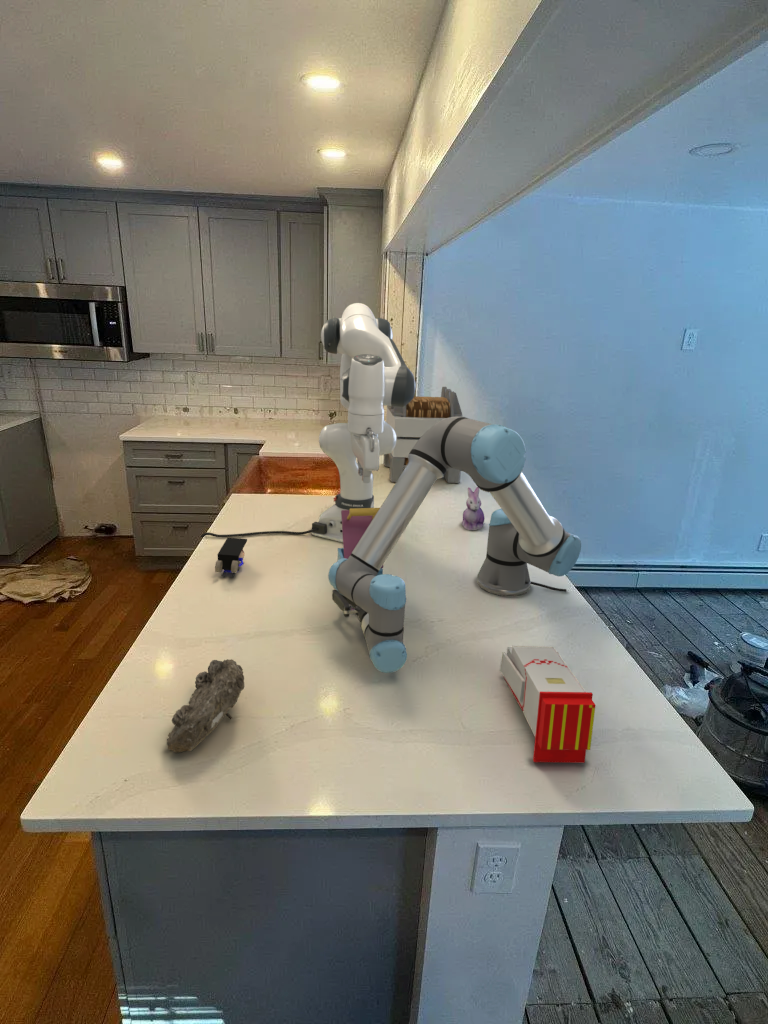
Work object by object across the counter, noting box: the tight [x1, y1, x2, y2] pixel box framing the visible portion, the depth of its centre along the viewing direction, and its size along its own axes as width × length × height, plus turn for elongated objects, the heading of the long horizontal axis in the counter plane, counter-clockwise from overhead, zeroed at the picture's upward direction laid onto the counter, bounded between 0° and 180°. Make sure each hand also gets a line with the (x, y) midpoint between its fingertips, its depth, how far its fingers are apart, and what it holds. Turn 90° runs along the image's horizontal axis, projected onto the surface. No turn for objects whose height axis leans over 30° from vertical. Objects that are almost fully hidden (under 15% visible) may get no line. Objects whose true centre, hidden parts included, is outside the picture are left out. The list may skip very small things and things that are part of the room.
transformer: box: [383, 386, 463, 484], centre depth 268 cm, size 34×33×41 cm
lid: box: [341, 507, 384, 569], centre depth 145 cm, size 16×10×9 cm
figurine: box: [461, 486, 485, 531], centre depth 207 cm, size 9×10×15 cm
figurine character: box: [214, 537, 248, 578], centre depth 166 cm, size 7×8×15 cm
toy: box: [499, 645, 597, 764], centre depth 112 cm, size 12×13×30 cm
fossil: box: [166, 658, 245, 754], centre depth 106 cm, size 22×10×15 cm
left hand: (364, 478), depth 143 cm, fingers open, 5 cm apart
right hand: (361, 579), depth 152 cm, fingers closed on chest, 10 cm apart
